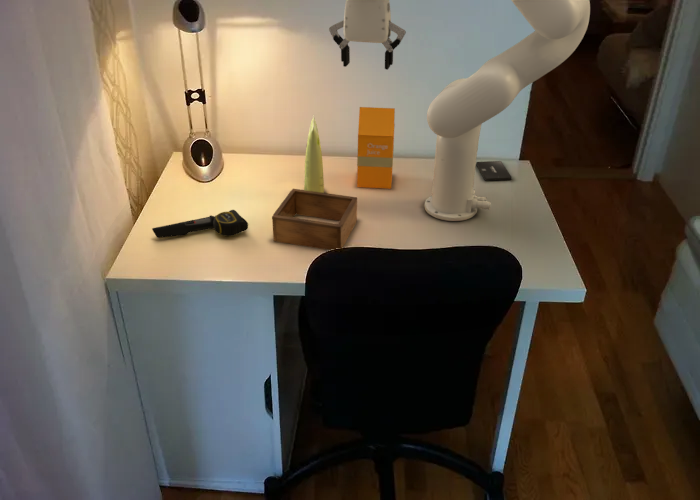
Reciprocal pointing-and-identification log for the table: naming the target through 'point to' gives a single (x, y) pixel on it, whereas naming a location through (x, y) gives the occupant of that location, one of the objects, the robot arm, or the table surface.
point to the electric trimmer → (184, 227)
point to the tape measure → (229, 223)
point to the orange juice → (375, 147)
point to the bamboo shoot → (313, 161)
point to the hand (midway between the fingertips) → (366, 66)
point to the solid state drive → (493, 170)
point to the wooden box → (315, 231)
